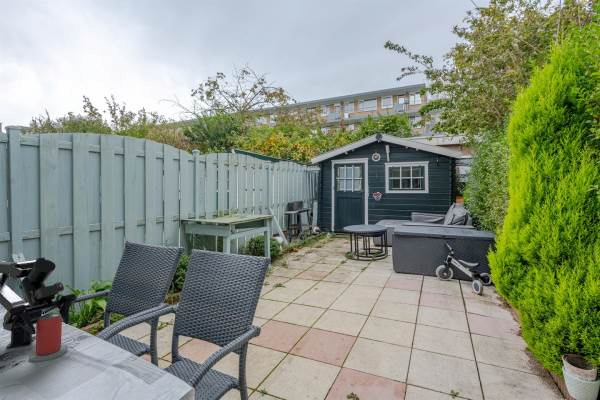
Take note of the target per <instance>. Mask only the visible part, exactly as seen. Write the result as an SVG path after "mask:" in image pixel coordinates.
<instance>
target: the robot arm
mask: <svg viewBox="0 0 600 400" xmlns="http://www.w3.org/2000/svg"><path fill="white" fill-rule="evenodd" d="M55 270H56V263H55V262H53V261H52V260H49V259H45V257H38V258H36V259H32V260H26V261H18V262H14V261H5V260H1V261H0V305H1V306H2V307H3V308H4V309H5V310H6V312H5V315H4V316H3V322H2V326H3V327H2V328H3V330H5V331H9V332H10V342H9V343H8V344H7V345H6V346H5V348H6V349H11V348H19V347H23V346H29V345H31V344H32V343H33V342H34V340H36V327H35V326H34V325H35V324H37V322H38V320H39V317H40V316H42V315H43V314H42V313H43V311H44V310H49V309H51V308H56V307H57V309H59V310H58V313H60V316H61V319H62V320H63V321H62V322H64V324H65V325H68V324H69V322H70V321H69V319H70V308H71V307H72V306H73V305H74V304H75V302H76V301H77V299H78V296H77V295H76V293H73V292H71V293H70V292H69V293H66V294H63V295H61V297H60V298H59V299H57V300H55V298H56V295H59V293H61V292H63V291H64V289H65V288H64V285H63V283H62V281H59V282H58V281H57V282H55V283H54V284H52V285H47V286H46V284H45V282H46V281H47V280H48V279H49V277H51V275H52V274H53V272H54V271H55ZM9 277H10V278H12V279H14V280H19V279H22V280H21V281H20V285H19V288H18V289H19V290H23V293H24V295H25V298H24V299H23V298H21V297H20V296H19V295H18V294H17V293H16V292H15V291H14V290H12V289H11V287H9V286H8V285H7V284H6V283H7V281H8V279H9ZM53 300H54V301H53ZM33 335H35V336H33Z"/></svg>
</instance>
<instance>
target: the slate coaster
mask: <svg viewBox="0 0 600 400" xmlns="http://www.w3.org/2000/svg"><path fill="white" fill-rule="evenodd" d="M68 349H69V347H68V346H67V345H66V344H61V348H60V349H59V350H58V351H57V352H55V353H52V354H49V355H43V356H41V355H37V354H36V353H35V352H36V350H33V352H31V353H30V354H29V355H28V361H29V362H32V363H40V362H41V363H42V362H47V361H51V360H54V359H57V358H59V357H61V356H64V355H65V354H66V353H67V352H68Z"/></svg>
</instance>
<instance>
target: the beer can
mask: <svg viewBox="0 0 600 400" xmlns="http://www.w3.org/2000/svg"><path fill="white" fill-rule="evenodd" d="M62 320H63V319H62V317H61V315H60V313H59V312H49V313H45V314H41V316H40V317H39V320H38V322H37V323H35V324H36V325H35V331H36V333H35V336H36V338H35V351H36V352H35V353H36V354H37V355H41V356H43V355H49V354H52V353H55V352H57V351H58V350H59V349H60V348H61V345H62V336H63V335H62V334H63V333H62V332H63V330H62V329H63V328H62V327H63V321H62Z"/></svg>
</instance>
